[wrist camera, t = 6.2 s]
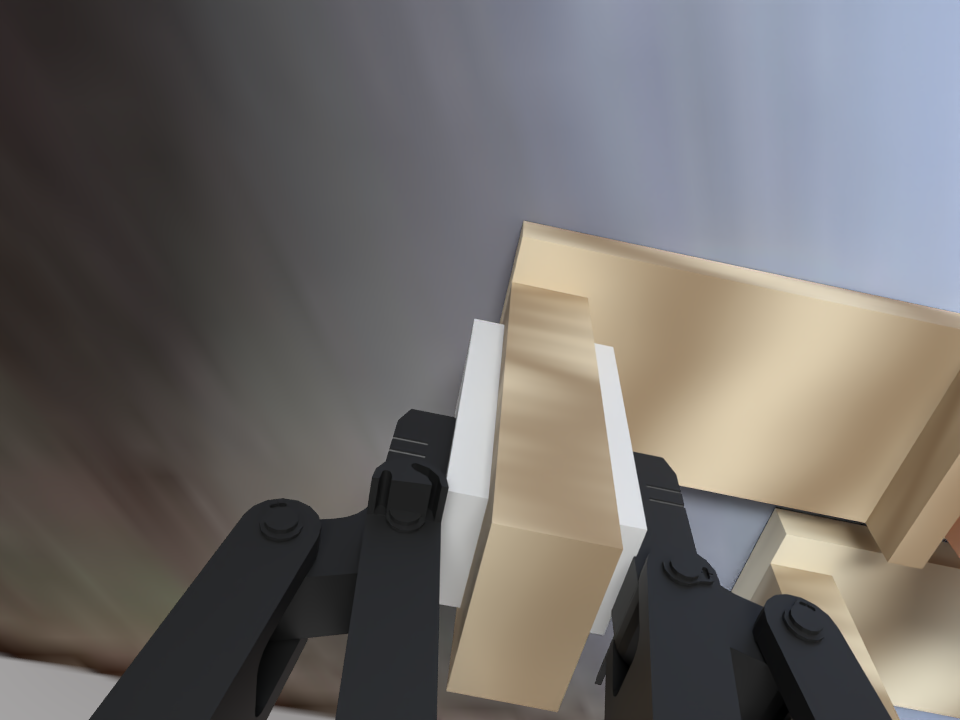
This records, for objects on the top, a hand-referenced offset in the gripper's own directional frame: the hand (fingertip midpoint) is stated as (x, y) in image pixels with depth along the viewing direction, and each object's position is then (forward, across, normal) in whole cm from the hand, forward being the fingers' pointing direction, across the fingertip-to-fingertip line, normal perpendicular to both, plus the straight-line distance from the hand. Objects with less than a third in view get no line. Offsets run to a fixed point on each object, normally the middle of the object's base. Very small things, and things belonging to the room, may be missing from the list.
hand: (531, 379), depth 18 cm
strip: (+2, +9, 0) cm, 9 cm away
